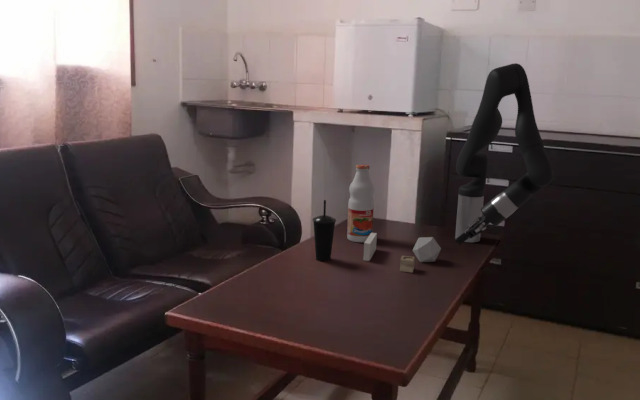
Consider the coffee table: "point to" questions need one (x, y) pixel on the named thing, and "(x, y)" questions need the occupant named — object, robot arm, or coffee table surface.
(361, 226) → the fruit juice
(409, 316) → the coffee table surface
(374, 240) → the rail
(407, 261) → the letter block
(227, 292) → the coffee table surface
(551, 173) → the robot arm
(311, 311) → the coffee table surface
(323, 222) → the drinking cup
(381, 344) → the coffee table surface
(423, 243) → the die
